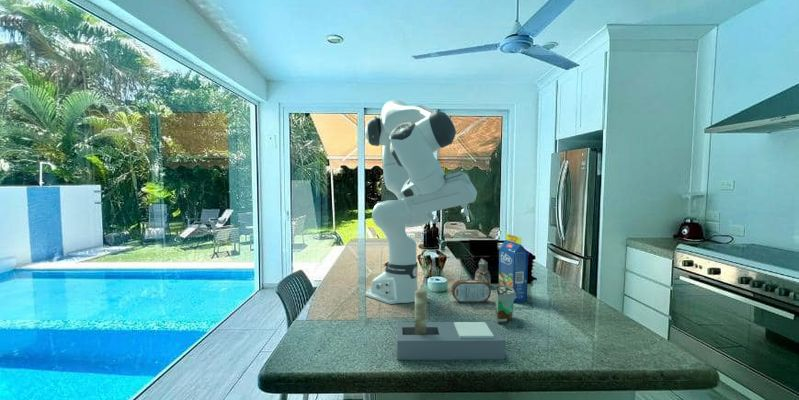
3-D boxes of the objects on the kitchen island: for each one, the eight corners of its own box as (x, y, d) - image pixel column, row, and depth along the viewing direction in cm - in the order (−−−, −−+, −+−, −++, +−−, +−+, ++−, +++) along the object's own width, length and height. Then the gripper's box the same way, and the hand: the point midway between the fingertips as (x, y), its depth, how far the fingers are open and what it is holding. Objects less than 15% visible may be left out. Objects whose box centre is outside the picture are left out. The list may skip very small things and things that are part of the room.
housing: (397, 359, 90) (397, 338, 90) (396, 339, 102) (396, 320, 102) (504, 359, 91) (505, 338, 90) (491, 338, 103) (491, 319, 102)
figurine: (474, 288, 152) (474, 260, 151) (473, 283, 159) (474, 257, 158) (491, 289, 151) (491, 261, 150) (489, 284, 158) (490, 258, 157)
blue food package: (511, 292, 146) (513, 233, 145) (527, 301, 135) (528, 237, 133) (498, 292, 145) (499, 233, 144) (512, 302, 134) (513, 238, 132)
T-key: (406, 351, 95) (406, 293, 94) (405, 346, 98) (405, 289, 97) (435, 351, 95) (435, 293, 94) (434, 346, 98) (434, 289, 97)
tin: (489, 300, 136) (489, 279, 136) (491, 303, 133) (492, 281, 133) (451, 300, 136) (451, 279, 135) (452, 303, 133) (452, 281, 132)
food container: (517, 327, 111) (518, 296, 110) (497, 325, 112) (498, 294, 112) (513, 313, 123) (513, 285, 122) (495, 311, 124) (495, 284, 124)
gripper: (467, 163, 90) (487, 204, 96) (401, 182, 101) (423, 218, 107) (462, 176, 85) (483, 218, 91) (394, 195, 96) (417, 232, 102)
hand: (450, 218), depth 99 cm, fingers open, 8 cm apart
